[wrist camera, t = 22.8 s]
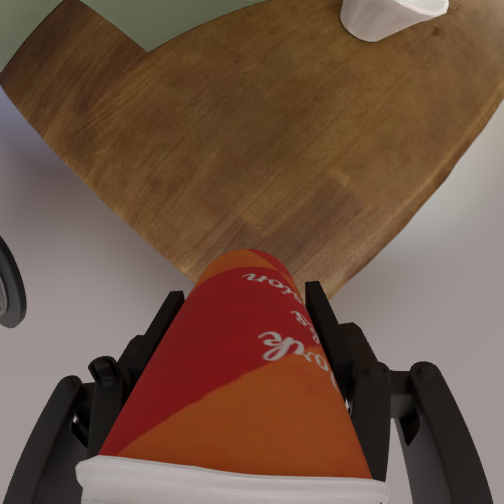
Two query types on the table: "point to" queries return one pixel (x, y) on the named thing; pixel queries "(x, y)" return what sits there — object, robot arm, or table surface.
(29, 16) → the cupboard door
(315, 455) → the coffee cup
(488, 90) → the table surface
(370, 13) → the cup
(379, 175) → the table surface
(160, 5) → the cupboard
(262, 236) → the table surface
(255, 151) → the table surface
